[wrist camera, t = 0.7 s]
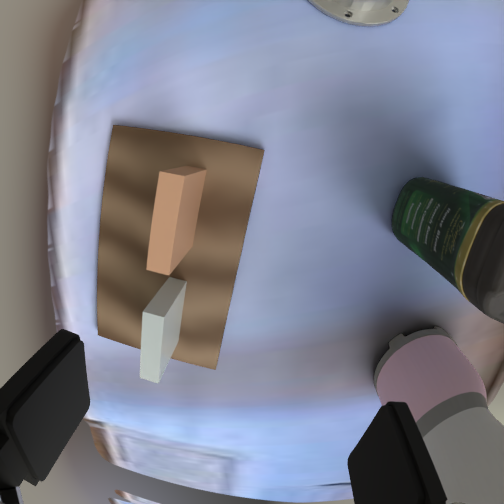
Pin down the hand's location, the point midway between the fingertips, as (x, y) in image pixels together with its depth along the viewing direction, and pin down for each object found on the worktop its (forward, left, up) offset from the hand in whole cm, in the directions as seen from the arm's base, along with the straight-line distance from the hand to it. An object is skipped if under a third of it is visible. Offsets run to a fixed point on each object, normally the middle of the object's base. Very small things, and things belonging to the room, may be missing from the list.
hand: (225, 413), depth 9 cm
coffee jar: (-5, +18, -26) cm, 31 cm away
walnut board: (+6, -9, -25) cm, 28 cm away
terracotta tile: (0, -7, -24) cm, 25 cm away
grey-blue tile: (+12, -7, -24) cm, 28 cm away
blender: (+15, +25, -25) cm, 38 cm away
